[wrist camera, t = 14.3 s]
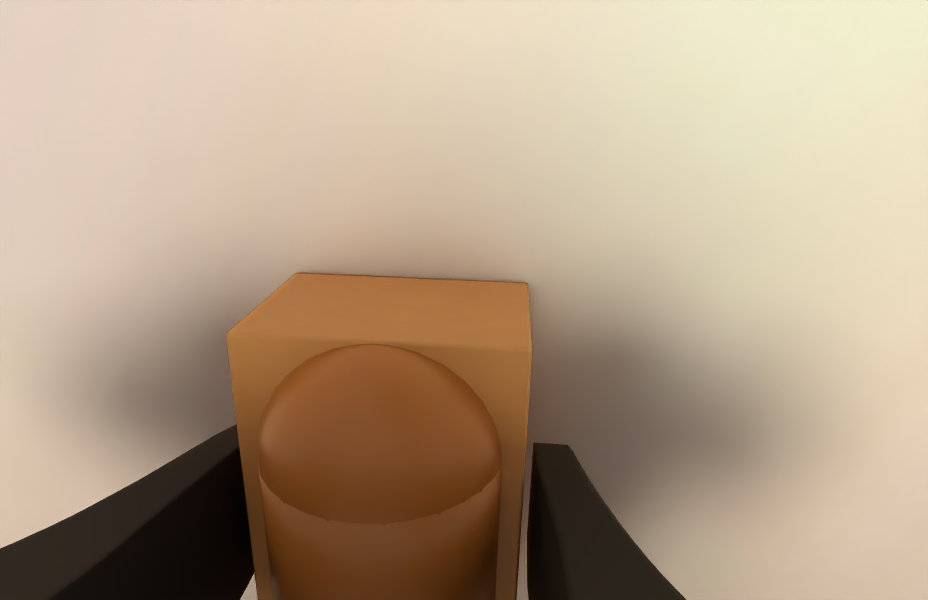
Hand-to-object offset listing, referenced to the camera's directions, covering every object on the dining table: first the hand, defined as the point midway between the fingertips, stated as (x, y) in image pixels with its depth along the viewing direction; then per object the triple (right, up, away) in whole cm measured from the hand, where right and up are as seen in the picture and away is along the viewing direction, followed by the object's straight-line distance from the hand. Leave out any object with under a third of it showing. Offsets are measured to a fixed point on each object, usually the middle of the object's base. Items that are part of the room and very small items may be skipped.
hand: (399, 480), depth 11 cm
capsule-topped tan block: (0, 0, +1) cm, 1 cm away
